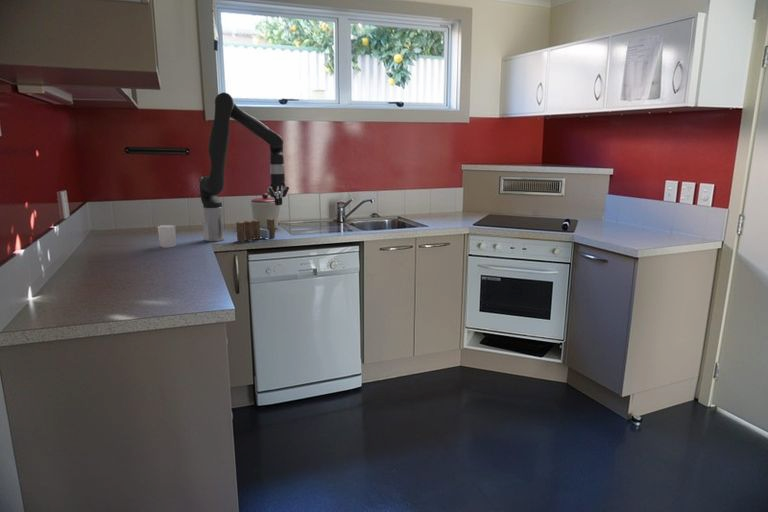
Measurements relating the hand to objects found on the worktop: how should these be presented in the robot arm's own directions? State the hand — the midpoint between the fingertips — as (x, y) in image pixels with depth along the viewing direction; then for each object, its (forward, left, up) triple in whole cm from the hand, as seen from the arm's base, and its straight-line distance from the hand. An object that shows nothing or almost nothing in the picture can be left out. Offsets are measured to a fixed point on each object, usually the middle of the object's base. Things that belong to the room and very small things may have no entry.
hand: (278, 205), depth 278 cm
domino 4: (-10, -5, -15) cm, 18 cm away
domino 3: (-15, 0, -17) cm, 22 cm away
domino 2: (-19, 0, -17) cm, 26 cm away
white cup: (-57, +12, -17) cm, 60 cm away
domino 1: (-24, 0, -17) cm, 29 cm away
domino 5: (-6, 0, -17) cm, 18 cm away
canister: (+8, +27, -17) cm, 33 cm away
